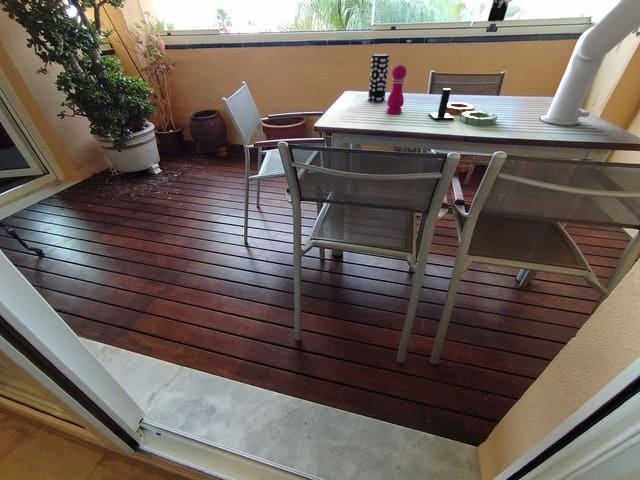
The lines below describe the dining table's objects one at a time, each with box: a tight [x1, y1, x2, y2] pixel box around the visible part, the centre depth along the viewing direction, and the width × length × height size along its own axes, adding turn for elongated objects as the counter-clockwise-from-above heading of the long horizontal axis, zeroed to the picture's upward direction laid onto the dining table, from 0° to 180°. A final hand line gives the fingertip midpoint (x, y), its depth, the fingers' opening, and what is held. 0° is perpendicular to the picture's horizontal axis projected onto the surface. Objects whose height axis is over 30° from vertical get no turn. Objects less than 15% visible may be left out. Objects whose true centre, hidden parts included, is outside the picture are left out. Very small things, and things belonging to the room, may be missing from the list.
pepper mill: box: [386, 60, 408, 115], centre depth 127 cm, size 7×7×20 cm
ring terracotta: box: [446, 101, 476, 116], centre depth 133 cm, size 12×12×2 cm
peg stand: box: [428, 87, 455, 121], centre depth 123 cm, size 8×8×11 cm
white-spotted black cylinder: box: [367, 53, 390, 103], centre depth 146 cm, size 8×8×20 cm
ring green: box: [459, 110, 498, 127], centre depth 121 cm, size 12×12×2 cm
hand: (495, 21), depth 115 cm, fingers open, 9 cm apart
